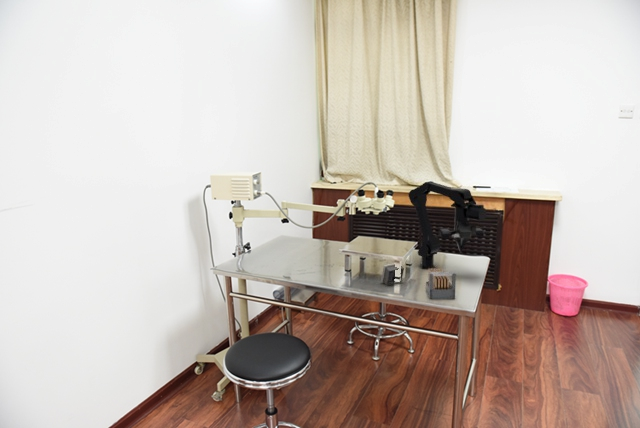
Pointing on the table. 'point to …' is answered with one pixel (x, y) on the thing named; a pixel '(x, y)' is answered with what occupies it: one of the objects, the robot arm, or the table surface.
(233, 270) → the table surface
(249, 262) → the table surface
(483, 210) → the robot arm
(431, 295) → the grey open frame
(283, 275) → the table surface
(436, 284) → the heat-sink block
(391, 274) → the electrical switch
